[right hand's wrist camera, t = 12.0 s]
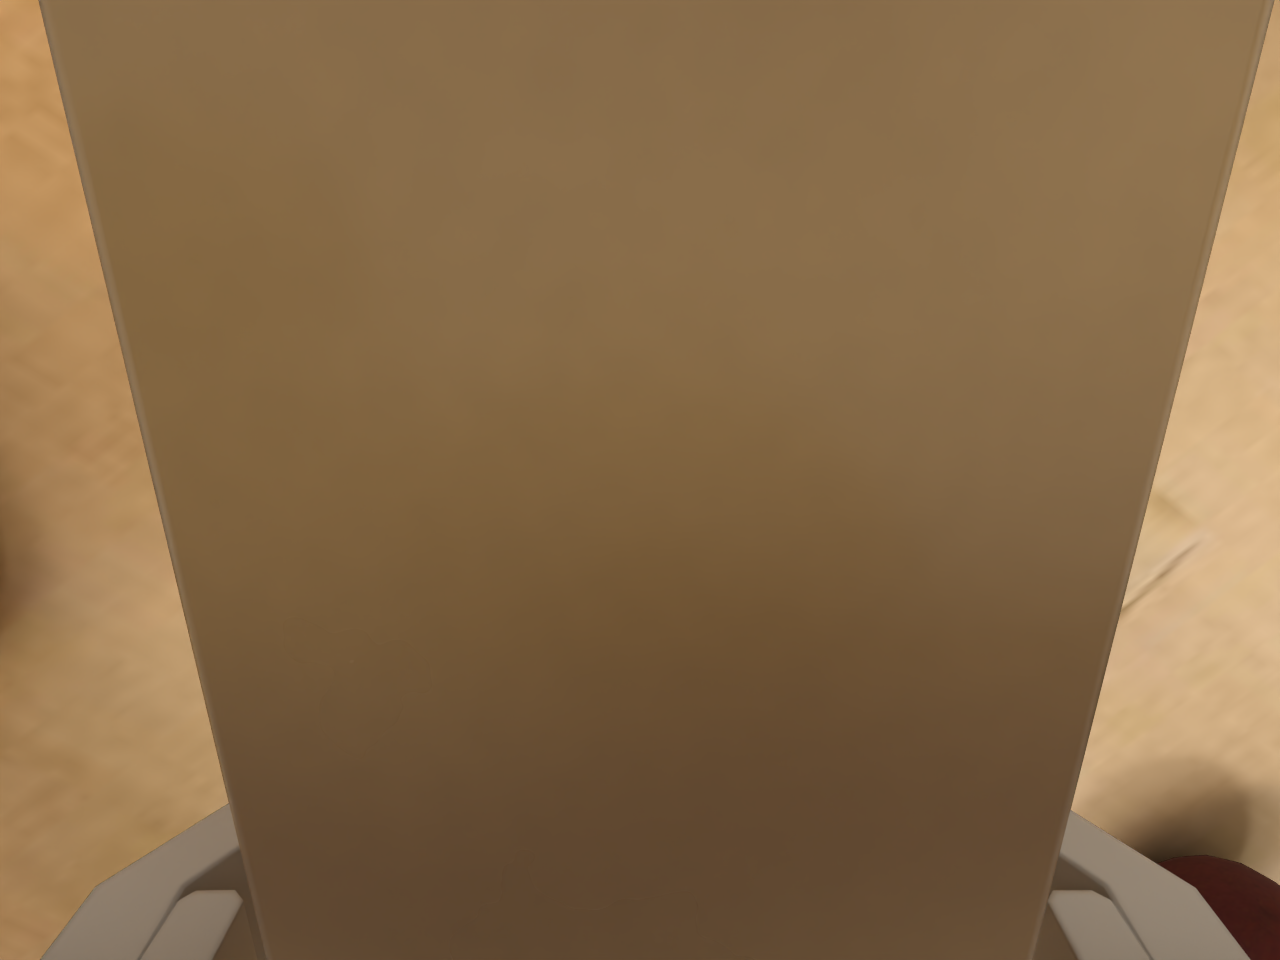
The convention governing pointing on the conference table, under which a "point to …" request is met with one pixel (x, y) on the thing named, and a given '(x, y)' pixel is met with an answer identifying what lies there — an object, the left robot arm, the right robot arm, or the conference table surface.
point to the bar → (653, 442)
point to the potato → (1236, 900)
